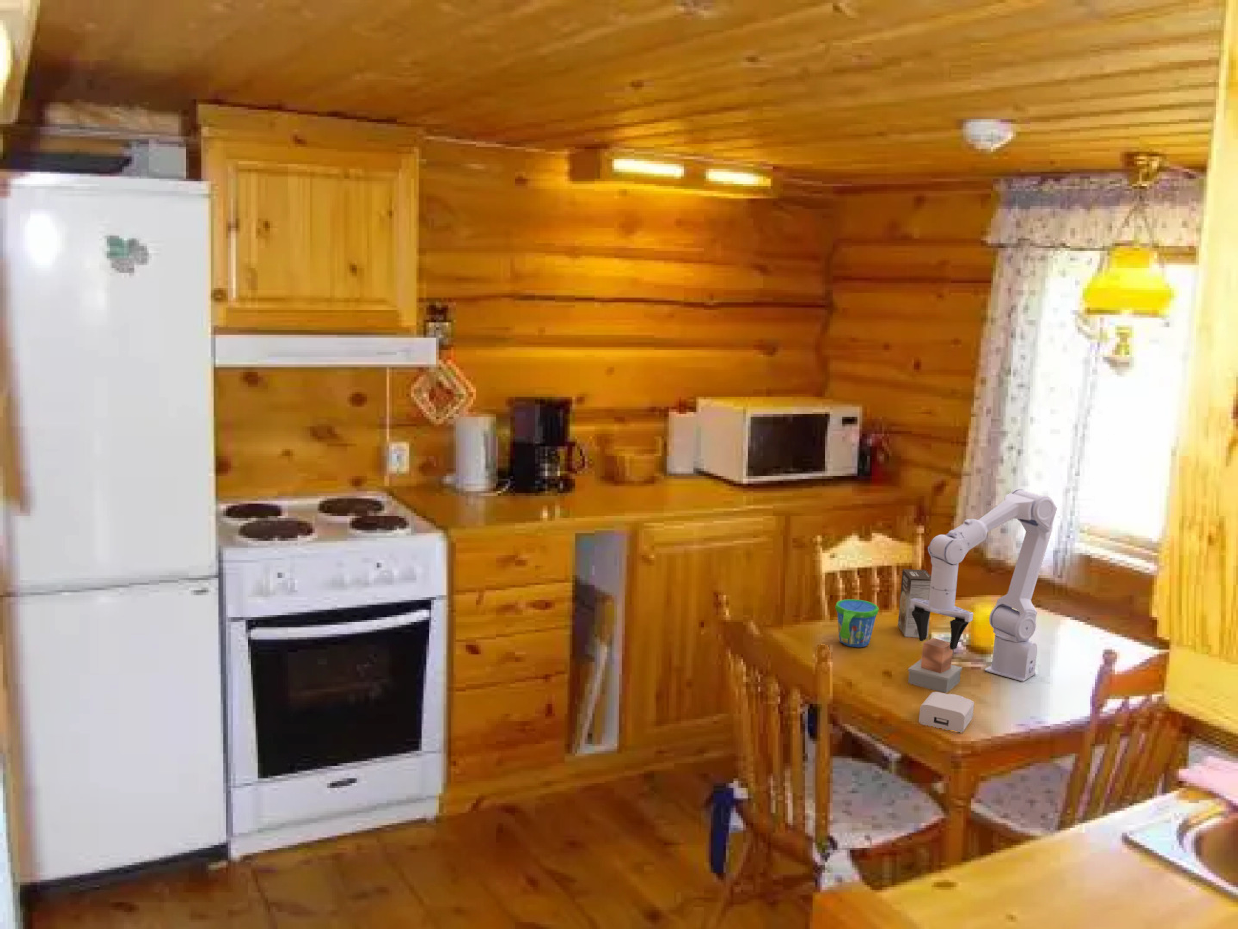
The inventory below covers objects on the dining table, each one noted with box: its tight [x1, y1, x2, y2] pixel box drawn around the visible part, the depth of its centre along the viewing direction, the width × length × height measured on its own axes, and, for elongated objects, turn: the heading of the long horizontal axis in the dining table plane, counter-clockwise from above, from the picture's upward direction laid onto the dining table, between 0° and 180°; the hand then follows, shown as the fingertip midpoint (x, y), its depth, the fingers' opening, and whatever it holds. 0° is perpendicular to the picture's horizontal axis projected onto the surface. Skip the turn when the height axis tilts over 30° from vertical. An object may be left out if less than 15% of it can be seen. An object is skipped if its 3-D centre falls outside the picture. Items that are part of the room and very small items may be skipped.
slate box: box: [907, 658, 963, 694], centre depth 258 cm, size 9×9×4 cm
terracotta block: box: [921, 637, 954, 673], centre depth 257 cm, size 5×5×6 cm
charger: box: [918, 691, 975, 733], centre depth 238 cm, size 5×9×15 cm
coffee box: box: [897, 568, 931, 639], centre depth 293 cm, size 9×6×16 cm
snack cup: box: [834, 598, 880, 648], centre depth 283 cm, size 16×10×10 cm
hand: (937, 644), depth 257 cm, fingers open, 7 cm apart
